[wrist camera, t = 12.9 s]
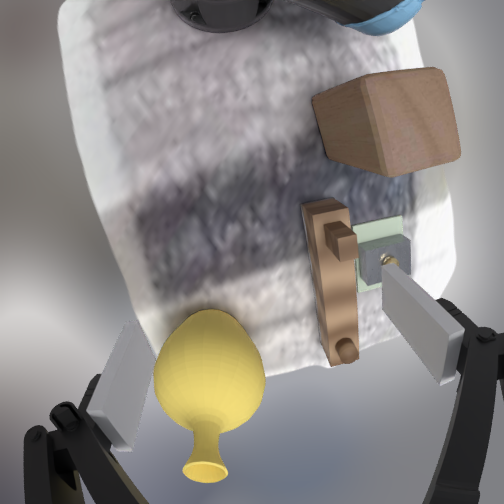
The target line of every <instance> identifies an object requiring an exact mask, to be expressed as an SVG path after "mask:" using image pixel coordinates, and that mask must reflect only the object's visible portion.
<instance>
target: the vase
mask: <svg viewBox="0 0 504 504" xmlns="http://www.w3.org/2000/svg"><path fill="white" fill-rule="evenodd" d="M153 374H154V389H155V394H156V397H157V399H158V401H159V403H160V405H161V407H162V408H163V410H164V411H165V413H166V414H167V415H168V416H169V417H171V418H172V419H173V420H174V421H175V422H176V423H177V424H180V425H181V426H183V427H185V428H187V429H189V430H191V431H193V433H194V448H193V452H192V454H191V456H190V458H189V459H188V461H187V463H186V464H185V466H184V468H183V473H184V474H185V475H186V476H187V477H188V478H190V479H192V480H194V481H198V482H203V483H212V482H217V481H220V480H222V479H224V478H225V477H226V476H227V475H228V471H227V469H226V467H225V465H224V463H223V461H222V459H221V457H220V454H219V450H218V440H219V435H220V433H223V432H227V431H229V430H233V429H235V428H237V427H239V426H240V425H242V424H243V423H245V422H246V421H247V420H249V419H250V417H251V416H252V415H253V414H254V412H255V411H256V410H257V408H258V407H259V405H260V403H261V401H262V397H263V393H264V388H265V373H264V368H263V364H262V359H261V356H260V354H259V352H258V350H257V348H256V346H255V345H254V343H253V342H252V340H251V339H250V337H249V336H248V334H247V333H246V331H245V330H244V329H243V327H242V326H241V325H240V324H239V322H238V321H237V320H236V319H235V318H233V317H232V316H231V315H229V314H228V313H225V312H223V311H220V310H214V309H207V310H201V311H198V312H196V313H194V314H192V315H191V316H190V317H188V318H187V319H186V320H185V321H184V322H183V323H182V324H181V325H180V326H179V327H178V328H177V329H176V330H175V331H174V332H173V333H172V334H171V335H170V336H169V338H168V339H167V340H166V342H165V343H164V345H163V347H162V349H161V351H160V353H159V356H158V358H157V360H156V363H155V366H154V373H153Z"/></svg>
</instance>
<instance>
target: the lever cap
mask: <svg viewBox="0 0 504 504" xmlns="http://www.w3.org/2000/svg"><path fill="white" fill-rule="evenodd" d="M358 253H359V270H360V277H361V279H362V280H363V281H364V282H365V283H366V285H367V286H370V285H374V284H377V283H381V282H382V274H381V266H383V265H386V264H390V263H395V264H396V265H397V266H398V267H399V268H400V269H402V270H403V271H404V272H405V273H406V274H407V275H409V274H411V247H410V240H409V239H408V238H406V237H405V236H403V235H402V234H396V235H392V236H388V237H383V238H379V239H375V240H370V241H366V242H362V243H358Z"/></svg>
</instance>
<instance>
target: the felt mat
mask: <svg viewBox="0 0 504 504" xmlns="http://www.w3.org/2000/svg"><path fill="white" fill-rule="evenodd" d="M351 226H352V231H353V232H355V233H356V234H357V242H358V243H362V242H366V241H370V240H375V239H379V238H383V237H388V236H392V235H396V234H402V235H403V224H402V215H397V216H392V217H388V218H383V219H378V220H374V221H369V222H365V223H360V224H355V225H351ZM355 267H356V280H357V292H358V293H360V292H364V291H368V290H371V289H375V288H379V287H382V282H381V283H377V284H374V285H370V286H367V285H366V283H365V282H364V281H363V280H362V279H361V277H360V270H359V258H356V259H355Z"/></svg>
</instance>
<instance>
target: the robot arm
mask: <svg viewBox="0 0 504 504" xmlns="http://www.w3.org/2000/svg"><path fill="white" fill-rule="evenodd" d="M284 1H287V2H290V3H293V4H295V5H298V6H301V7H303V8H306V9H308V10H311V11H313V12H316V13H318V14H321V15H323V16H325V17H328V18H330V19H332V20H334V21H335V22H336V23H338V24H339V25H341V26H345V27H350V28H353V29H355V30H357V31H359V32H362V33H364V34H366V35H371V36H383V35H387V34H389V33H392V32H394V31H396V30H397V29H399V28H401V27H402V26H403V25H405V24H406V23H407V22H408V21H410V20H411V19H412V18H413V17H414V16H415V15H416V13H417V12H418V11H419V10H420V9H421V7H422V6H421V3H422V2H423V1H425V0H284ZM272 2H273V0H171V3H172V5H173V7H174V10H175V11H176V13H177V14H178V16H179V17H180V18H181V19H182V20H183V21H184V22H186V23H187V24H189V25H190V26H192V27H194V28H197V29H200V30H203V31H207V32H215V33H225V32H233V31H237V30H241V29H244V28H246V27H248V26H250V25H252V24H254V23H256V22H257V21H258V20H260V19H261V18H262V17H263V16H264V15H265V14H266V13H267V11H268V10H269V8H270V6H271V4H272ZM381 274H382V310H383V311H384V312H385V314H386V315H387V316H388V317H389V319H390V320H391V321H392V322H393V324H394V325H395V326H396V328H397V329H398V330H399V332H400V333H401V334H402V335H403V337H404V338H405V339H406V341H407V342H408V343H409V345H410V346H411V347H412V349H413V350H414V351H415V353H416V354H417V355H418V357H419V358H420V359H421V361H422V362H423V363H424V365H425V366H426V367H427V369H428V370H429V372H430V373H431V374H432V376H433V377H434V379H435V380H436V381H437V383H438V384H439V386H441V385H443V384H445V383H448V382H450V381H452V380H454V378H455V373H456V369H457V371H458V372H459V373H460V374H461V377H460V381H459V385H458V388H457V396H456V400H455V404H454V409H453V413H452V417H451V421H450V424H449V428H448V432H447V435H446V439H445V442H444V445H443V448H442V452H441V455H440V458H439V461H438V464H437V467H436V470H435V472H434V475H433V478H432V481H431V484H430V486H429V488H428V491H427V494H426V497H425V499H424V501H423V503H422V504H478V502H479V498H480V491H479V490H478V487H479V483H480V479H481V475H482V471H483V467H484V463H485V458H486V453H487V448H488V443H489V438H490V432H491V426H492V419H493V412H494V404H495V395H496V384H497V380H500V385H501V390H502V395H503V400H504V333H500V334H497V333H496V332H495V331H494V330H492V329H491V328H487V327H477V326H476V325H475V324H474V323H473V322H472V321H471V320H470V319H469V318H468V317H467V316H466V315H465V314H464V313H462V311H460V310H459V309H457V307H456V306H455V305H454V304H453V303H452V302H450V301H448V300H446V299H443V298H440V299H437V300H434V299H433V298H432V297H431V296H430V295H429V294H428V293H427V292H426V291H425V290H424V289H423V288H421V287H420V286H419V285H418V284H417V283H416V282H415V281H414V280H413V279H412V278H410V277H409V276H408V275H407V274H406V273H405V272H404V271H403V270H402V269H400V268H399V267H398V266H397V265H396V264H395V263H390V264H386V265H383V266H381ZM155 361H156V358H155V356H154V355H153V352H152V350H151V348H150V345H149V343H148V341H147V339H146V337H145V334H144V332H143V330H142V327H141V325H140V323H139V321H138V320H134V321H129V322H126V323H125V325H124V327H123V329H122V331H121V333H120V335H119V337H118V339H117V342H116V344H115V346H114V349H113V350H112V353H111V355H110V357H109V359H108V361H107V363H106V366H105V368H104V370H103V372H102V374H97V375H96V376H95V377H94V378H93V379H92V380H91V381H90V383H89V385H88V388H87V390H86V392H85V394H84V397H83V399H82V401H81V403H80V405H79V408H78V409H77V408H76V407H75V405H74V404H73V403H71V402H62V403H60V404H58V405H56V406H55V407H54V408H53V409H52V411H51V413H50V415H49V416H50V420H51V422H52V423H53V424H54V425H55V427H56V428H57V429H58V430H55V431H51V432H48V431H47V430H46V429H45V428H44V427H43V426H40V425H37V426H34V427H32V428H30V429H29V430H28V431H27V433H26V434H25V437H24V490H25V491H24V493H25V504H85V501H84V497H83V492H82V488H81V483H80V477H79V474H80V476H81V478H82V480H83V482H84V484H85V485H86V487H87V489H88V491H89V493H90V495H91V496H92V498H93V500H94V502H95V503H96V504H149V503H148V502H147V500H146V499H145V498H144V497H143V495H142V494H141V493H140V491H139V490H138V489H137V488H136V486H135V485H134V484H133V482H132V481H131V479H130V478H129V477H128V475H127V474H126V473H125V471H124V470H123V468H122V467H121V465H120V464H119V463H118V461H117V460H116V458H115V457H114V455H113V454H112V453H111V452H110V448H111V444H112V445H113V446H114V447H115V448H116V450H117V451H121V452H124V451H125V452H129V451H133V449H134V445H135V441H136V436H137V432H138V428H139V424H140V419H141V415H142V411H143V407H144V403H145V399H146V395H147V391H148V387H149V384H150V380H151V376H152V372H153V369H154V365H155Z"/></svg>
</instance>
